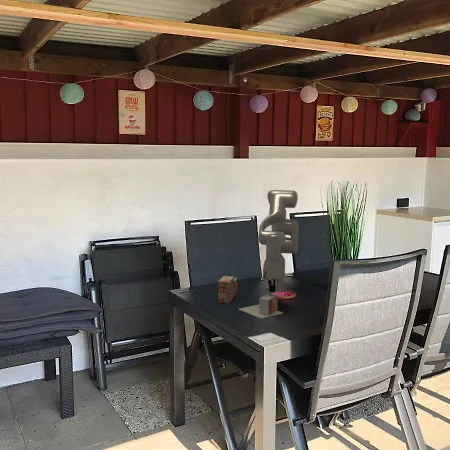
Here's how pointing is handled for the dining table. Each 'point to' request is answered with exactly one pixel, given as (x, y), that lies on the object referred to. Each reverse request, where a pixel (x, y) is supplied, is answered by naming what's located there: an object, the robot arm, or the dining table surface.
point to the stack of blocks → (227, 289)
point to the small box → (268, 304)
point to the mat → (255, 312)
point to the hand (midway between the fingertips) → (272, 291)
